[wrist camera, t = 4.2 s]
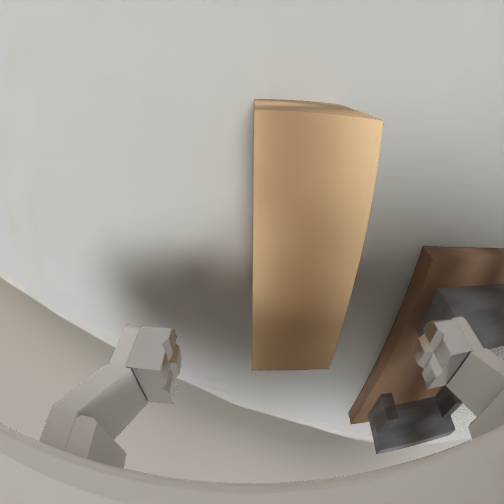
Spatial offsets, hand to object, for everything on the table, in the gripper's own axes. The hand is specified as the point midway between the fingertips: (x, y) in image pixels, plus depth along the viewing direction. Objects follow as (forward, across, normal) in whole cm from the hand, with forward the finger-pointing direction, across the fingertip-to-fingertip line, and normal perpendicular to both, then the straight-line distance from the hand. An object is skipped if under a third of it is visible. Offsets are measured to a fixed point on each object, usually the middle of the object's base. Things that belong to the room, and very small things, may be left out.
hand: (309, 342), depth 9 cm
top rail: (+9, 0, 0) cm, 9 cm away
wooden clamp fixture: (+9, -15, +13) cm, 22 cm away
